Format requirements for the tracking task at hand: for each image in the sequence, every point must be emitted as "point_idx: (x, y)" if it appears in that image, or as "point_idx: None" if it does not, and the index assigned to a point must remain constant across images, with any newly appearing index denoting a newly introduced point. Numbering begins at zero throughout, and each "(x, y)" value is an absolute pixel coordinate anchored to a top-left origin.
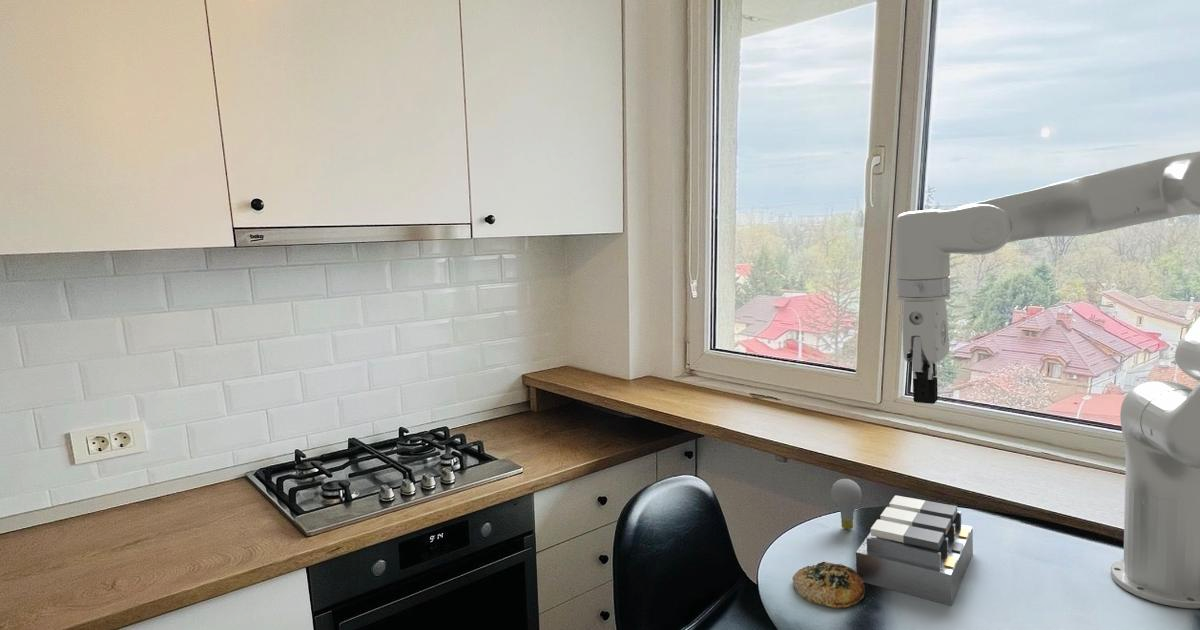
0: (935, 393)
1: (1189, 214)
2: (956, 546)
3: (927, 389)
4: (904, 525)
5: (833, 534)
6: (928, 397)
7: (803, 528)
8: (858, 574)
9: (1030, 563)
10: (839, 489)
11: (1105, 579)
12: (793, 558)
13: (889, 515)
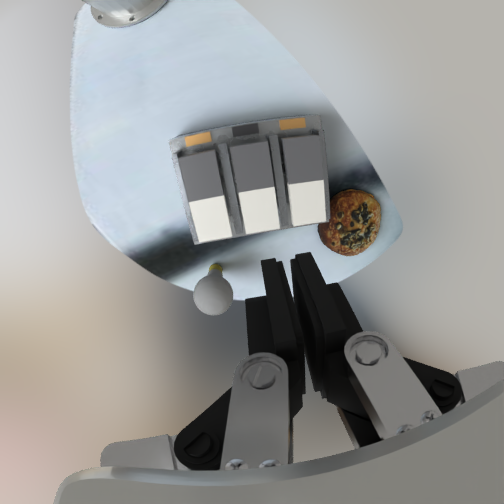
0: (312, 276)
1: None
2: (246, 131)
3: (351, 310)
4: (292, 190)
5: (237, 272)
6: (328, 284)
7: None
8: None
9: (157, 83)
10: (229, 302)
11: (148, 24)
12: None
13: (272, 219)
